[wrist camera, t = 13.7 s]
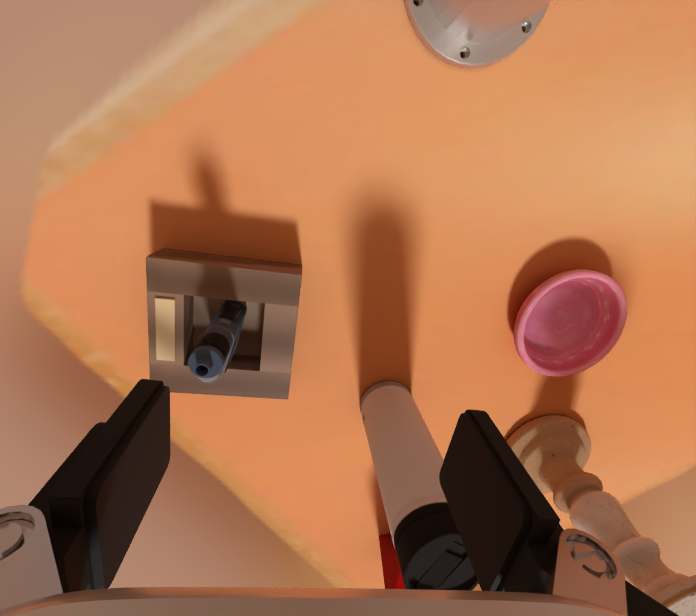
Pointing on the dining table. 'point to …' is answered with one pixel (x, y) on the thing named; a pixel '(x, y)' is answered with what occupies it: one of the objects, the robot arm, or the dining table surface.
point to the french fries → (390, 564)
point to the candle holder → (596, 507)
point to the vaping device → (218, 343)
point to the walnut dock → (201, 307)
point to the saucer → (570, 322)
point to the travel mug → (414, 492)
